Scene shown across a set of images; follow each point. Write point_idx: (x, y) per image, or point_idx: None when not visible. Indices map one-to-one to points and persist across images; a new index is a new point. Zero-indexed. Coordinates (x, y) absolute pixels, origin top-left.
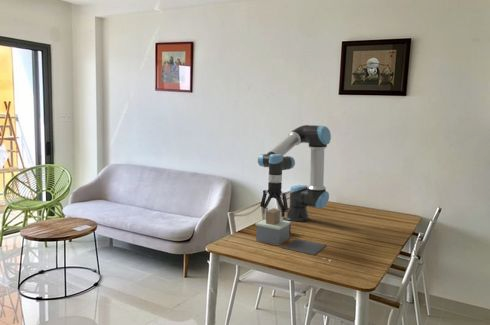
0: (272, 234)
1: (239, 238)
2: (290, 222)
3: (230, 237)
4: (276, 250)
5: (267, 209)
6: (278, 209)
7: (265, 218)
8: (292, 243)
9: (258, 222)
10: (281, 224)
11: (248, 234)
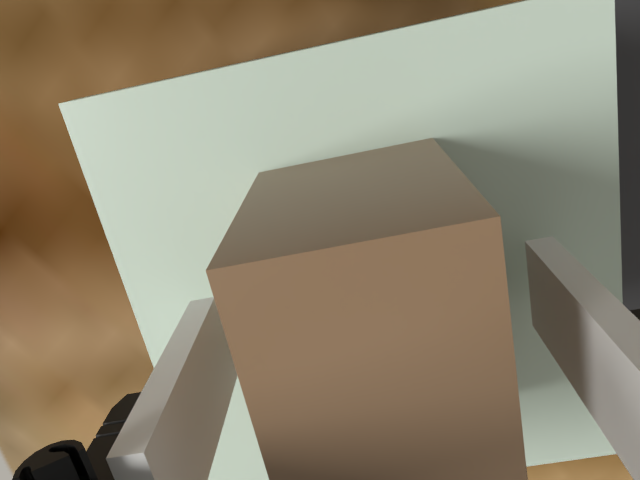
0: None
1: (96, 411)
2: (607, 6)
3: (21, 445)
4: None
5: (166, 449)
6: (431, 289)
7: (232, 389)
8: (637, 169)
9: None
10: None
11: (43, 257)
